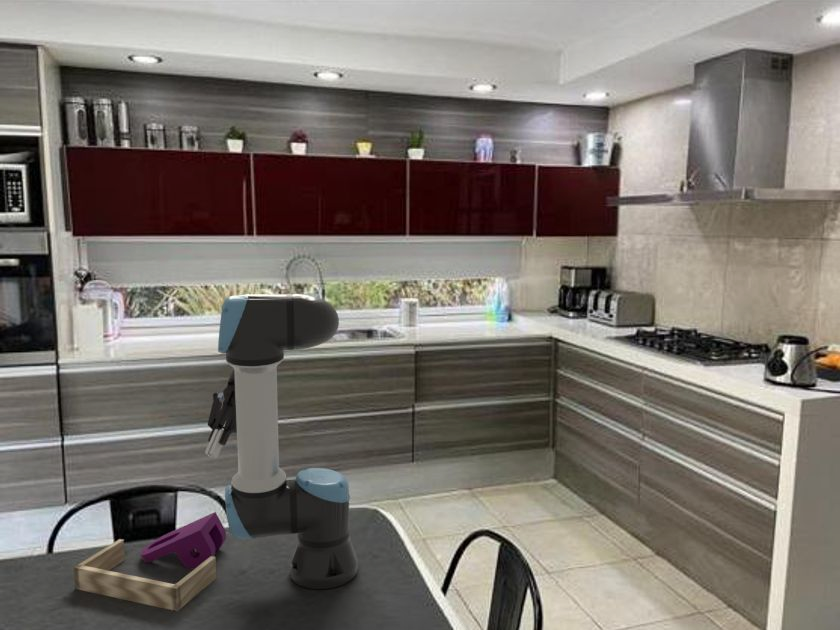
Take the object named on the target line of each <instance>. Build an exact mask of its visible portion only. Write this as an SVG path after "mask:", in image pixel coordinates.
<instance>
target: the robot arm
mask: <svg viewBox="0 0 840 630" xmlns="http://www.w3.org/2000/svg"><path fill="white" fill-rule="evenodd" d="M339 325H340V320H339V315H338V311H337V309H335V307H334V306H333V305H332V304H331V303H330V302H328V301H327V300H324V299H322V298H320V297H317V296H313V295H310V294H302V293H292V294H291V293H289V294H287V293H286V294H283V293H282V294H281V293H280V294H276V293H275V294H273V293H272V294H270V293H269V294H267V293H266V294H263V293H261V294H257V293H256V294H253V293H252V294H251V293H250V294H249V293H246V294H240V295H239V294H237V295H230V296H227V297H226V298H225V299H224V300H223V303H222V307H221V314H220V322H219V329H218V345H217V351H218V353H221V354H222V355H225V360H226V361H225V362H226V363H227V364H228V365H229V366H230V367H232V368H233V370H231V371H232V372H231V373H230V376H229V377H228V381H227V385H226V387H225V388H224V389H223V392H220V393H217V392H214V393H212V400H213V401H212V405H211V409H210V413H209V417H208V421H207V426H208V427H209V428H210V429H211V432H210V435H209V437H208V440H207V441H208V442H209V443H208V445H207V447H206V449H205V451H204V454H205V455H207V456H208V457H209V458H213V459H218V456H219V455H220V452H221V450H222V447H223V446H225V445H226V444H227V443H228V441H229V440H228V439H229V437H230V435H231V434H234V433H235V434H236V443H237V444H236V445H237V465H238V466H237V467H238V468H237V469H238V470H237V472H236V473H235V474H234V475H233V476H232V478H231V484H230V483H229V485H226V487H225V490H224V500H225V501H224V502H225V510H226V513H225V514H226V519H227V523H228V527H229V532H230V533H231V535H232V536H233V538H235V539H238V540H243V539H244V540H245V539H246V540H247V539H251V540H255V539H258V538H266V537H274V536H283V535H284V536H286V535H293V534H294V535H295V534H297V543H296V546H295V548H294V553H293V555H292V557H291V558H292V559H291V562H290V577H291V580H292V581H293V582H294V583H295V584H297V585H298V586H300V587H303V588H306V589H310V590H311V589H312V590H328V589H334V588H337V587H339V586H343V585H345V584H347V583H349V582H351V581H352V580H353V579H354V578H355V576H356V575H357V573H358V558H357V555H356V552H355V549H354V546H353V543H352V540H351V538H350V499H351V496H350V490H349V489H350V488H349V481H348V479H347V477H346V476H344V474H342V473H340V472H339V471H336V470H332V469H329V468H323V467H310V468H306V469H302V470H299V471H298V473H297V474H296V476H295V479H287V474H286V472H285V470H283V469H282V468H280V450H279V448H280V447H279V444H280V443H279V412H278V409H279V407H278V374H277V373H278V372H277V371H278V368H277V367H278V365H280V364H281V363H282V362H283V361H284V359H285V358H284V356H285V355H284V354H285V353H284V352H285V351H295V350H296V351H297V350H304V349H305V350H306V349H310V348H314V347H317V346H320V345H322V344H325V343H327V342H329V341H330V340H331V339H332V338H333V337H334V336H335V335H336V333H337V332H338V329H339Z"/></svg>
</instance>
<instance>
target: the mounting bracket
mask: <svg viewBox="0 0 840 630" xmlns="http://www.w3.org/2000/svg"><path fill="white" fill-rule="evenodd" d="M226 537H227V533H226V529H225V527H224V525H223V523H222V522H221V519H220V518H219V516H218V514H217V512H216V511H214V512H212V513H209V514H208V515H206V516H203V517H201V518H198V519H197V520H195V521H193V522H190V523H188V524H186V525H183V526H181V527H178V528H177V529H175V530H172V531H170V532H168V533H166V534H164V535H162V536H160V537H158V538H157V539H155V540H154V541H151V542H150V543H149V544H148V545H147V546H145V548H143V549H142V551H141V552H140V554H139V555H140V556H141V558H142V560H143V561H144V563H146V564H147V563H151V562H153V561H157V560H158V559H160V558H163V557H165V556H167V555H169V554H172V553H176V555H177V557H178V559H179V561H180V562H181V563H182V565H183V566H184V567H186V568H188V569H190V568H197V567H198V566H199V565H200V564H202V563H203V562H204V561H205V560H207V559H208V558H209V557H210V556H213V557H215V554H216V552H217V551H219V550H220V549H221V548H222V545H223V544H224V543H225V541H226Z"/></svg>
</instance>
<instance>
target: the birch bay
mask: <svg viewBox="0 0 840 630" xmlns="http://www.w3.org/2000/svg"><path fill="white" fill-rule="evenodd" d="M124 541H125V539H121V538H119V539H117V540H116V541H114V542H112V543H111V544H109V545H108V546H105V548H103V549H101V550H99V551H98V552H96V553H95V554H92V555H91V556H89V557H88V558H87V559H85V560H84V561H81V562H80V563H79V564H77V565H75V566H74V567H73V573H74V574H73V575H74V585H75V590H79V591H84V592H88V593H93V594H97V595H102V596H107V597H111V598H116V599H119V600H125V601H129V602H132V603H138V604H141V605H147V606H151V607H156V608H160V609H164V610H169V609H170V610H169V611H173V610H175V611H174V612H179V610H181V609H182V608H183V607H185V606H186V604H188V603H189V602H190V601H191V600H192V599H194V598H195V597H196V596H197V595H198V594H199V593H201V592H202V591H203V590H204V589H205V588H206V587H207V586H209V585H210V584H211V583H212V582H213V581H215V580H216V579H217V561H216V556H214V557H213V556H210V557H209V558H208V559H207V560H205V561H204V562H203V563H202V564H200V565H199V566H198V567H197V568H195V569H193V570H192V571H190V572H189V573H187V574H186V575H185V576H184V577H183V578H181V579H180V580H179V581H178V582H176V583H174V584H173V583H169V582H165V581H160V580H156V579H155V580H154V579H150V578H146V577H141V576H136V575H132V574H131V575H130V574H127V573H121V572H116V571H111V570H112V569H113V568H114V567H116V566H118V565H119V564H121V563H122V562H124V561H126V555H125V552H126V551H125V542H124Z"/></svg>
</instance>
